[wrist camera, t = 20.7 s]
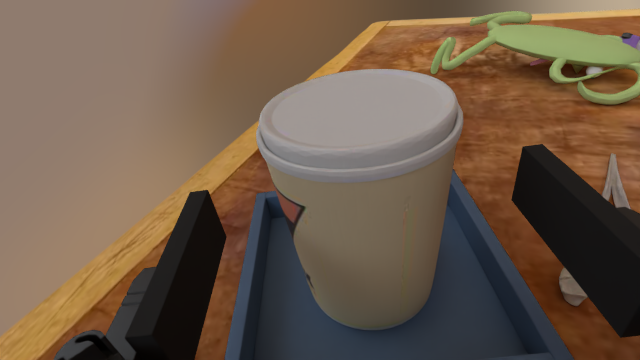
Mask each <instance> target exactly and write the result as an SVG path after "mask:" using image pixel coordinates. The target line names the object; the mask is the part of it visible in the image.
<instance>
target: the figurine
mask: <svg viewBox="0 0 640 360" xmlns="http://www.w3.org/2000/svg"><path fill="white" fill-rule="evenodd" d="M531 19H532V15H531V14H530V13H527V12H517V11H509V12H502V13H495V14H490V15H486V16H482V17H477V18H473V19H471V21H470V26H474V25H478V24H482V23H486V22H488V23H487V27H488V29H490V31H488V37H487V38H485V39H484V40H482V41H481V42H479V43H478V44H476V45H475V46H473V47H471V48H469V49H468V50H466V51H464V52H463V53H461V54H460V55H459V56H457V57H456V58H454V59H453V60H451V61H450V62H449V59H450V56H451V53H452V51H453V49H454V46H455V43H456V39H455V38H454V37H450V38H447V39H446V40H445V41H444V43H443V44H442V45H441V47H440V48H439V50H438V51H437V53H436V55H435V57H434V60H433V62H432V66H431V70H430V71H431V73H432V74H435V73H437V71H438V67H439V64H440V62H441V60H442V68H443V69H444V70H452V69H454V68H455V67H457V66H459V65H460V64H462V63H463V62H465V61H466V60H468V59H469V58H471V57H472V56H474V55H476V54H478V53H479V52H481V51H483V50H484V49H486V48H487V47H489V46H490V45H492V44H495V43H496V44H498V45H500V46H503V47H505V48H507V49H510V50H512V51H515V52H518V53H522V54H525V55H529V56H532V57H536V58H541V59H539V60H536V61H533V62H531V63H530V65H536V64H539V63H542V62H546V61H550V60H551V61H554V62H553V64H552V66H551V67H550V69H549V74H550V78H551V79H552V80H553V81H554V82H555V83H561V84H568V83H575V82H579V83H578V86H577V89H578V92H579V93H580V94H581V96H582V97H583V98H584V99H586V100H589V101H591V102H594V103H599V104H604V105H616V104H620V103H624V102H627V101H629V100H631V99H634V98H636V97H637V96H639V95H640V37H639V36H636V35H633V34H631V33H623V35H622V37H618V36H614V35H601V36H600V35H596V34H591V33H587V32H583V31H578V30H571V29H565V28H558V27H551V26H538V25H506V26H501V25H499V24H503V23H516V24H525V23H529V22H530V21H531ZM565 63H568V64H572V66H573V68H574V70H575V73H576V74H577V73H578V72H579V71H580V70H581V69H582V68H583V67H584V66H588V68H587V69H586V74H587V76H583V77H579V78H566V77H565V76H563V75H562V74H561V68H562V67H563V66H564V64H565ZM604 67H615V68H612V69H609V70H606V71H603V68H604ZM625 68H626V69H630V70H634V71H635V72H636V73H637V74H638V80H637V82H636V83H635V85H633V86H632V87H630V88H629V89H627V90H625V91H622V92H619V93H616V94H602V93H597V92H593V91H591V90H589V89H587V88H585V86H584V85H583V83H582V82H581V81H583V80H586V79H589V78H591V79H593V78H595V77H598V76H599V75H601V74H604V73H607V72H610V71H613V70H618V69H625Z"/></svg>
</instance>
